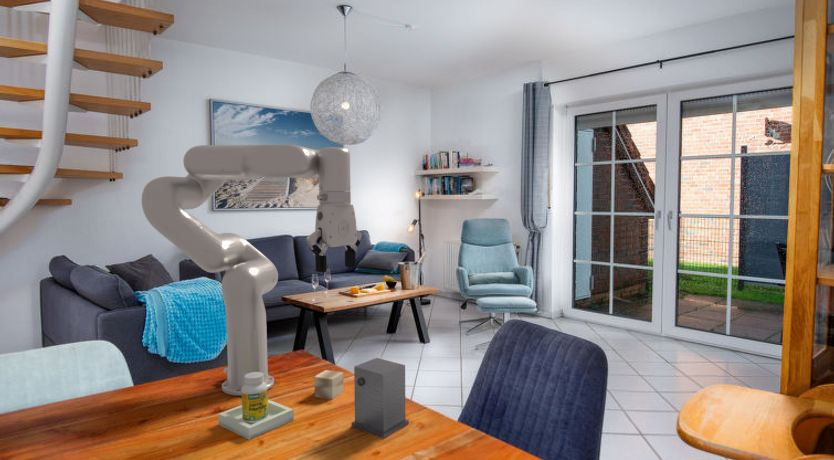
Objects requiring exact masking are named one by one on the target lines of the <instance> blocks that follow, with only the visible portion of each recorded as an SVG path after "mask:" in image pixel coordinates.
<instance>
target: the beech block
mask: <svg viewBox="0 0 834 460" xmlns="http://www.w3.org/2000/svg"><path fill="white" fill-rule="evenodd" d="M313 379H314V381H313V382H314V397H316V398H321V399H326V400H332V401H333V400H334V399H336V398H337V397H338V396H340V395H341V394H342V393H344V372H343V371H342V372H341V371H337V370H329V369H325V370H323V371H322V372H320V373H318V374H316V375H315V376H314V378H313Z"/></svg>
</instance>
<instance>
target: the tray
mask: <svg viewBox="0 0 834 460" xmlns="http://www.w3.org/2000/svg"><path fill="white" fill-rule="evenodd" d="M268 410H269V416H268V418H266V419H264V420H262V421H259V422H257V423H254V424H250V423H246V422H244V421H243V417H242V404H240V405H239V406H236V407H233V408H230V409H228V410H225V411H222V412H219V413H218V417H217V419H218V426H220V427H222V428H224V429H227V430H228V431H231V432H232V433H234V434H237V435H239V436H240V437H242V438H244V439H246V440H248V441H250V440H253V439H255V438H257V437H260V436H261V435H264V434H266V433H269V432H271V431H272V430H275V429H278V428H280V427H281V426H282V427H283V426H285V425H286V424H288V423H291V422H293V421H294V419H295V415H294V409H293V408H290V407H288V406H286V405H283V404H281V403H278V402H276V401H273V400H270V399H268Z"/></svg>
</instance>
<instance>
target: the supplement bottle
mask: <svg viewBox="0 0 834 460" xmlns="http://www.w3.org/2000/svg"><path fill="white" fill-rule="evenodd" d="M263 381H264V374H263V373H262V372H252V373H248V374H246V375H245V376H244V382H245V384H244V385H243V387H242V389H241V394H242V396H241V405H242V417H243V421H244V422H246V423H250V424H254V423H257V422H259V421H262V420H264V419H266V418H268V416H269V410H268V400H269V391H268V390H269V389H268V387H267V384H266V383H265V382H263Z"/></svg>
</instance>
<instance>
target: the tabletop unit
mask: <svg viewBox="0 0 834 460" xmlns="http://www.w3.org/2000/svg"><path fill="white" fill-rule="evenodd" d="M353 371H354V374H353V375H354V376H353V377H354V379H353V380H354V421H351V427H353V428H355V429H357V430H360V431H364V432H366V433H368V434H371V435H374V436H376V437H379V438H382V439H386V438H387V437H389V436H391V435H393V434H394V433H396V432H398V431H399V430H401V429H404V428H405V427H406V426H408V425H410V420H409V419H406V365H405V364H401V363H398V362H395V361H391V360H386V359H384V358H383V359H382V358H380V357H375V358H372V359H370V360H368V361H365V362H362V363H360V364H357V365H355V366H354V368H353Z"/></svg>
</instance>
